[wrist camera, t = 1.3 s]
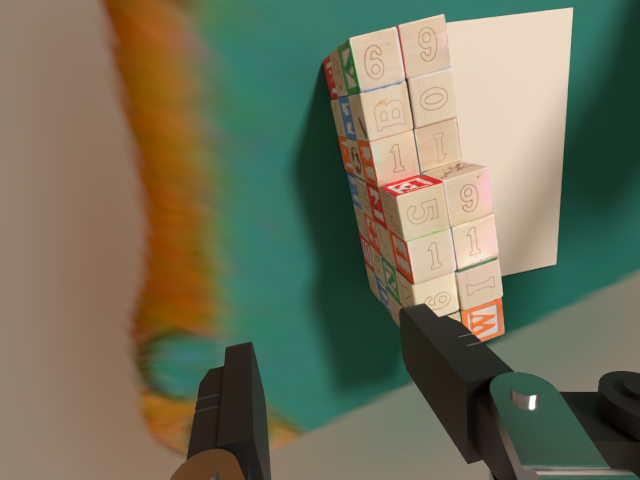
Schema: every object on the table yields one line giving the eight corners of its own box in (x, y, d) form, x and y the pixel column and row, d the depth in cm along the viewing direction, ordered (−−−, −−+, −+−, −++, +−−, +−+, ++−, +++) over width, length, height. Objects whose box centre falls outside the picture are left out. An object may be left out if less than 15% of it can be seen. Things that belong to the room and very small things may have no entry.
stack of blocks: (319, 59, 31) (363, 21, 19) (391, 41, 31) (477, -6, 20) (370, 290, 38) (425, 365, 26) (428, 272, 38) (508, 337, 27)
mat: (569, 8, 33) (572, 7, 33) (553, 262, 41) (556, 264, 40) (417, 27, 31) (419, 26, 31) (430, 289, 39) (432, 291, 38)
